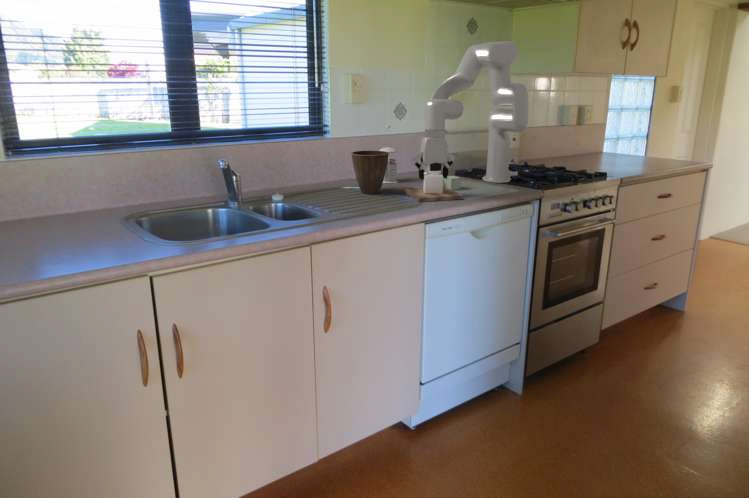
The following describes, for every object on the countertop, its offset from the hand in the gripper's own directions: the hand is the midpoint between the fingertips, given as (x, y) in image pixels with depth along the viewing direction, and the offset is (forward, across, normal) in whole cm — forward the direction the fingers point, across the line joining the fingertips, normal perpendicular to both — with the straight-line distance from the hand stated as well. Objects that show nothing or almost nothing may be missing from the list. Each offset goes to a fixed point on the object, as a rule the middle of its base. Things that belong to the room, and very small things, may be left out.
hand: (433, 178), depth 205 cm
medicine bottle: (+6, 0, 0) cm, 6 cm away
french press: (+7, +9, -32) cm, 34 cm away
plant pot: (+7, +22, -13) cm, 27 cm away
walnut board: (+7, 0, 0) cm, 7 cm away
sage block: (+7, -13, -11) cm, 18 cm away
